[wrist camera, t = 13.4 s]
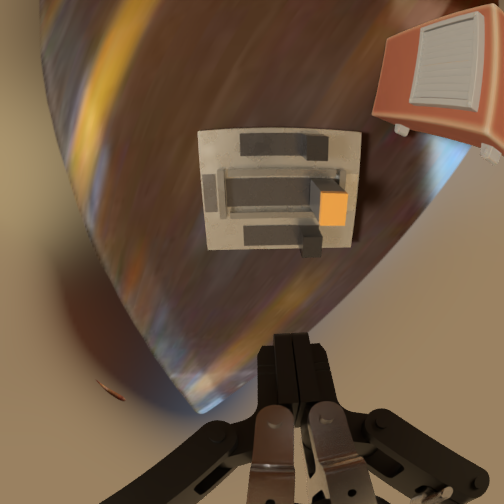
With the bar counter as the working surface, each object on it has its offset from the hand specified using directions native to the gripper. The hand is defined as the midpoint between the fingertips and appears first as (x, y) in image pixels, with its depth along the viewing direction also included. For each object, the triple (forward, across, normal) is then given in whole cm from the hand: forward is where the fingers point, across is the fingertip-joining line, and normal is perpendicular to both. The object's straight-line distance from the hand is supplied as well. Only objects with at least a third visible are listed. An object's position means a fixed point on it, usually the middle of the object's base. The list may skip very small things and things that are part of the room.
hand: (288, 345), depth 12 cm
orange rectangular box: (+27, -18, -16) cm, 36 cm away
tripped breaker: (+24, -7, 0) cm, 25 cm away
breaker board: (+27, -2, 0) cm, 27 cm away
